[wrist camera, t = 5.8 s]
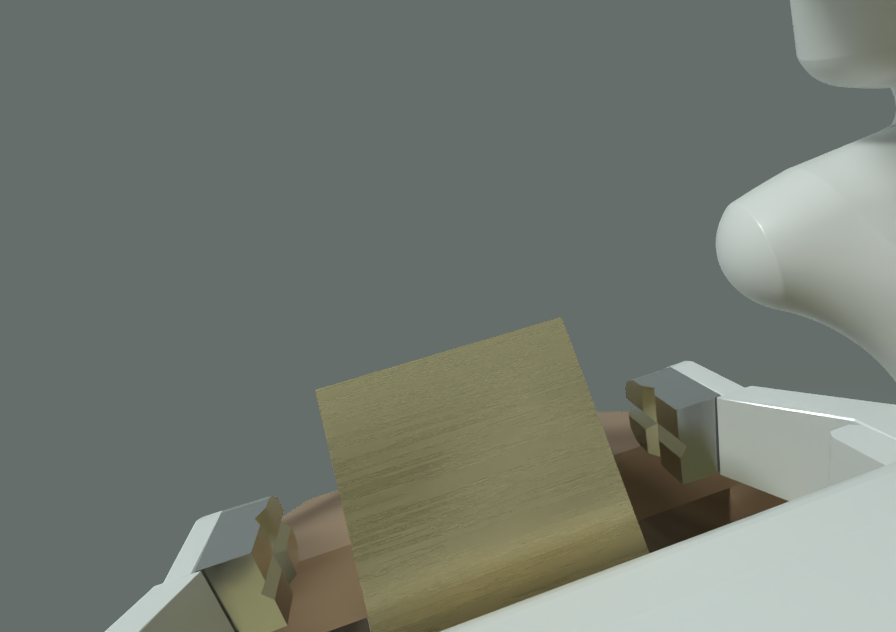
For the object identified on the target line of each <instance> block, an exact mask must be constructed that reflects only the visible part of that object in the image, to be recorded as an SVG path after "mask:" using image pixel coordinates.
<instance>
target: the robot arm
mask: <svg viewBox="0 0 896 632" xmlns="http://www.w3.org/2000/svg"><path fill="white" fill-rule="evenodd" d="M790 4H791V12H792V20H793V28H794V36H795V45H796V53H797V58H798V60H799V61H800V63H801V65H802V66H803V67H804V69H806V71H807V72H808V73H809V74H810V75H811V76H813V77H814V78H816V79H817V80H819V81H821V82H824V83H826V84H830V85H833V86H839V87H851V88H891V90H892V92H893V95H894V98H895V103H896V0H790ZM716 253H717V258H718V261H719V264H720V267H721V269H722V271H723V273H724V275H725V276H726V277H727V279H728V280H729V282H730V283H731V284H732V285H733V286H734V287H735V288H736V289H737V290H738V291H739V292H741V293H742V294H743V295H745V296H746V297H748V298H749V299H751V300H753V301H755V302H757V303H759V304H761V305H764V306H767V307H770V308H773V309H777V310H783V311H787V312H791V313H794V314H798V315H801V316H804V317H807V318H810V319H812V320H815V321H818V322H820V323H822V324H824V325H826V326H828V327H830V328H832V329H834V330H836V331H838V332H839V333H841V334H843V335H844V336H846V337H848V338H849V339H851V340H852V341H854V342H855V343H857V344H858V345H859V346H861V347H862V348H863V349H865V350H866V351H867V352H868V353H869V354H870V355H871V356H873V357H874V358H875V359H876V360H877V361H878V362H879V363H880V364H881V365H882V366H883V367H884V368H885V369H886V370H887V372H888V373H889V374H890V375H891V376H892V378H893V379H894V380H895V382H896V114H895V118H894V121H893V123H892V125H890V126H888V127H886V128H884V129H883V130H881V131H879V132H877V133H874V134H872V135H869V136H867V137H865V138H862V139H860V140H857V141H855V142H852V143H850V144H848V145H845V146H843V147H840V148H838V149H835V150H833V151H830V152H828V153H826V154H823V155H821V156H818V157H816V158H814V159H811V160H809V161H806V162H804V163H801V164H799V165H796V166H794V167H791V168H789V169H787V170H785V171H783V172H781V173H780V174H778V175H776V176H775V177H773V178H771V179H769V180H768V181H766V182H764V183H763V184H761V185H759V186H758V187H756V188H754V189H753V190H751V191H750V192H748V193H746V194H745V195H743V196H742V197H740V198H738V199H737V200H735V201H734V202H732V203H731V204H730V205H728V207H727V208H726V210H725V212H724V213H723V215H722V218H721V220H720V223H719V226H718V230H717V235H716ZM625 389H626V398H627V399H628V400H629V401H630V402H632V404H633V407H632V409H631V411H630V413H629V421H630V427H631V430H632V432H633V434H634V436H635V439H636V440H637V441H638V443H639V444H640V446H641V447H642V448H643V449H644V450H645V451H646V452H647V453H649V454H652V455H656V456H659V457H661V465H662V466H663V467H664V468H665V469H666V470H667V471H668V472H669V473H670V474H672V475H673V476H674V477H675V478H676V479H677V480H678V481H679V482H680V483H682V484H687V483H690V482H693V481H696V480H699V479H702V478H705V477H708V476H711V475H714V474H718V473H720V475H723V476H725V477H728V478H730V479H733V480H735V481H738V482H741V483H743V484H746V485H748V486H751V487H754V488H756V489H759V490H761V491H764V492H767V493H769V494H772V495H774V496H777V497H779V498H782V499H785V500H787V501H789V502H786V503H784V504H781V505H778V506H776V507H773V508H770V509H768V510H765V511H762V512H760V513H757V514H754V515H752V516H749V517H746V518H744V519H741V520H738V521H735V522H733V523H730V524H727V525H725V526H722V527H719V528H717V529H714V530H711V531H708V532H706V533H703V534H700V535H698V536H695V537H692V538H689V539H687V540H684V541H681V542H679V543H676V544H673V545H671V546H668V547H665V548H662V549H660V550H657V551H654V552H652V553H649V554H646V555H644V556H641V557H638V558H635V559H633V560H630V561H627V562H625V563H622V564H619V565H617V566H614V567H611V568H608V569H606V570H603V571H600V572H598V573H595V574H592V575H590V576H587V577H584V578H581V579H579V580H576V581H573V582H571V583H568V584H565V585H563V586H560V587H557V588H555V589H552V590H549V591H547V592H544V593H541V594H539V595H536V596H533V597H531V598H528V599H525V600H523V601H520V602H517V603H515V604H512V605H509V606H507V607H504V608H501V609H499V610H496V611H493V612H490V613H488V614H485V615H482V616H480V617H477V618H474V619H472V620H469V621H466V622H464V623H461V624H458V625H456V626H453V627H450V628H448V629H445V630H442V631H440V632H896V405H892V404H885V403H876V402H869V401H862V400H854V399H847V398H839V397H830V396H824V395H816V394H808V393H801V392H793V391H786V390H778V389H771V388H763V387H755V386H750V387H747V388H744V387H742V386H740V385H738V384H736V383H734V382H732V381H730V380H728V379H726V378H724V377H722V376H720V375H718V374H716V373H714V372H712V371H710V370H708V369H706V368H704V367H702V366H700V365H698V364H696V363H694V362H692V361H684V362H681V363H678V364H676V365H673V366H670V367H667V368H665V369H662V370H660V371H657V372H654V373H651V374H648V375H645V376H642V377H639V378H636V379H633V380H631V381H628V382H627V383H626V388H625ZM283 511H284V510H283V508H282V506H281V504H280V502H279V500H278V498H276V497H274V496H269V497H266V498H263V499H259V500H256V501H253V502H249V503H246V504H243V505H239V506H236V507H233V508H229V509H226V510H224V511H223V510H222V511H219V512H217V513H213V514H210V515H207V516H205V517H202V518H200V519H199V520H197V521H196V522H195V525H194V526H193V528H192V530H191V532H190V534H189V535H188V537H187V539H186V541H185V543H184V545H183V547H182V549H181V551H180V552H179V554H178V556H177V558H176V560H175V562H174V564H173V566H172V568H171V569H170V571H169V573H168V575H167V577H166V579H165V581H164V583H163V584H160V585H157V586H154V587H153V588H152V589H151V590H150V591H149V592H148V593H147V594H146V595H144V596H143V597H142V598H141V599H140V600H139V601H138V602H137V603H136V604H135V605H134V606H132V607H131V608H130V609H129V610H128V611H127V612H126V613H125V614H124V615H123V616H121V617H120V618H119V619H118V620H117V621H116V622H115V623H114V624H113V625H112V626H110V627H109V628H108V629H107V630H106V631H105V632H272V631H275V630H277V629H280V628H283V627H285V626H287V625H288V620H289V614H290V609H291V604H292V598H293V592H292V590H291V588H290V586H289V584H290V583H291V581H292V580H293V579H294V578H295V576H296V575H297V571H298V565H299V554H298V545H297V541H296V537H295V534H294V532H293V530H292V527H290V526H289V525H287V524H285V523H283V522H281V520H282V516H283Z"/></svg>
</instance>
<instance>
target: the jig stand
mask: <svg viewBox="0 0 896 632" xmlns="http://www.w3.org/2000/svg"><path fill="white" fill-rule="evenodd" d="M629 413H630V411H620V412H597V414H598V416H599V419H600V422H601V425H602V427H603V430H604V433H605V435H606V438H607V441H608V443H609V446H610V449H611V451H612V454H613V457H614V459H615V462H616V465H617V467H618V470H619V473H620V475H621V478H622V481H623V483H624V486H625V489H626V492H627V494H628V497H629V500H630V502H631V505H632V508H633V510H634V513H635V516H636V518H637V521H638V524H639V526H640V529H641V532H642V534H643V537H644V540H645V542H646V545H647V548H648V550H649V553H652V552H654V551H657V550H660V549H662V548H665V547H668V546H671V545H673V544H676V543H679V542H681V541H684V540H687V539H689V538H692V537H695V536H698V535H700V534H703V533H706V532H708V531H711V530H714V529H717V528H719V527H722V526H725V525H727V524H730V523H733V522H735V521H738V520H741V519H744V518H746V517H749V516H752V515H754V514H757V513H760V512H762V511H765V510H768V509H770V508H773V507H776V506H778V505H781V504H784V503H786V502H789V501H787V500H785V499H782V498H779V497H777V496H774V495H772V494H769V493H767V492H764V491H761V490H759V489H756V488H754V487H751V486H748V485H746V484H743V483H741V482H738V481H735V480H733V479H730V478H728V477H725V476H723V475H720V473H718V474H714V475H711V476H708V477H705V478H702V479H699V480H696V481H693V482H690V483H687V484H682V483H680V482H679V481H678V480H677V479H676V478H675V477H674V476H673V475H672V474H670V473H669V472H668V471H667V470H666V469H665V468H664V467H663V466H662V465H661V457H659V456H656V455H652V454H649V453H647V452H646V451H645V450H644V449H643V448H642V447H641V446H640V444H639V443H638V441H637V440H636V439H635V436H634V434H633V432H632V430H631V427H630V421H629ZM281 522H283V523H285V524H287V525H289V526H290V527H292V530H293V532H294V534H295V537H296V541H297V545H298V554H299V565H298V571H297V575H296V576H295V578H294V579H293V580H292V581H291V583H290V584H289V586H290V588H291V590H292V592H293V598H292V604H291V609H290V614H289V620H288V625H287V626H285V627H283V628H280V629H277V630H275V631H272V632H370V628H369V624H368V620H367V617H368V615H367V611H366V607H365V602H364V598H363V594H362V589H361V585H360V581H359V576H358V572H357V568H356V564H355V559H354V555H353V551H352V546H351V542H350V538H349V533H348V529H347V525H346V520H345V516H344V512H343V508H342V503H341V499H340V495H339V490H337V491H333V492H330V493H327V494H324V495H321V496H318V497H315V498H312V499H309V500H307V501H306V502H304V503H303V504H302V505H300V506H299V507H297V508H295V509H294V510H292V511H291V512H289V513H288V514H286V515H285V516H284V517H282V520H281Z"/></svg>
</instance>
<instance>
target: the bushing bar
mask: <svg viewBox="0 0 896 632" xmlns="http://www.w3.org/2000/svg"><path fill="white" fill-rule="evenodd" d="M315 391H316V395H317V400H318V404H319V408H320V413H321V417H322V421H323V426H324V430H325V434H326V438H327V443H328V447H329V451H330V456H331V460H332V464H333V469H334V473H335V477H336V482H337V486H338V490H339V495H340V499H341V503H342V508H343V512H344V516H345V520H346V525H347V529H348V533H349V538H350V542H351V546H352V551H353V555H354V559H355V564H356V568H357V572H358V576H359V581H360V585H361V589H362V594H363V598H364V602H365V607H366V611H367V615H368V619H369V624H370V628H371V632H440V631H442V630H445V629H448V628H450V627H453V626H456V625H458V624H461V623H464V622H466V621H469V620H472V619H474V618H477V617H480V616H482V615H485V614H488V613H490V612H493V611H496V610H499V609H501V608H504V607H507V606H509V605H512V604H515V603H517V602H520V601H523V600H525V599H528V598H531V597H533V596H536V595H539V594H541V593H544V592H547V591H549V590H552V589H555V588H557V587H560V586H563V585H565V584H568V583H571V582H573V581H576V580H579V579H581V578H584V577H587V576H590V575H592V574H595V573H598V572H600V571H603V570H606V569H608V568H611V567H614V566H617V565H619V564H622V563H625V562H627V561H630V560H633V559H635V558H638V557H641V556H644V555H646V554H649V550H648V548H647V545H646V542H645V540H644V537H643V534H642V532H641V529H640V526H639V524H638V521H637V518H636V516H635V513H634V510H633V508H632V505H631V502H630V500H629V497H628V494H627V492H626V489H625V486H624V483H623V481H622V478H621V475H620V473H619V470H618V467H617V465H616V462H615V459H614V457H613V454H612V451H611V449H610V446H609V443H608V441H607V438H606V435H605V433H604V430H603V427H602V425H601V422H600V419H599V416H598V414H597V411H596V408H595V406H594V403H593V400H592V398H591V395H590V392H589V390H588V387H587V384H586V382H585V379H584V376H583V374H582V371H581V368H580V366H579V363H578V360H577V358H576V355H575V352H574V349H573V347H572V344H571V342H570V339H569V336H568V333H567V331H566V328H565V325H564V323H563V320H562V317H560V318H556V319H553V320H549V321H547V322H543V323H539V324H536V325H533V326H529V327H526V328H523V329H520V330H516V331H512V332H509V333H506V334H502V335H499V336H495V337H493V338H489V339H485V340H482V341H479V342H475V343H472V344H468V345H466V346H462V347H458V348H455V349H452V350H448V351H445V352H442V353H438V354H435V355H431V356H428V357H425V358H421V359H418V360H415V361H411V362H408V363H404V364H401V365H398V366H394V367H391V368H388V369H385V370H381V371H377V372H374V373H371V374H367V375H364V376H361V377H357V378H354V379H351V380H347V381H344V382H340V383H337V384H334V385H330V386H327V387H323V388H320V389H317V390H315Z"/></svg>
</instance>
